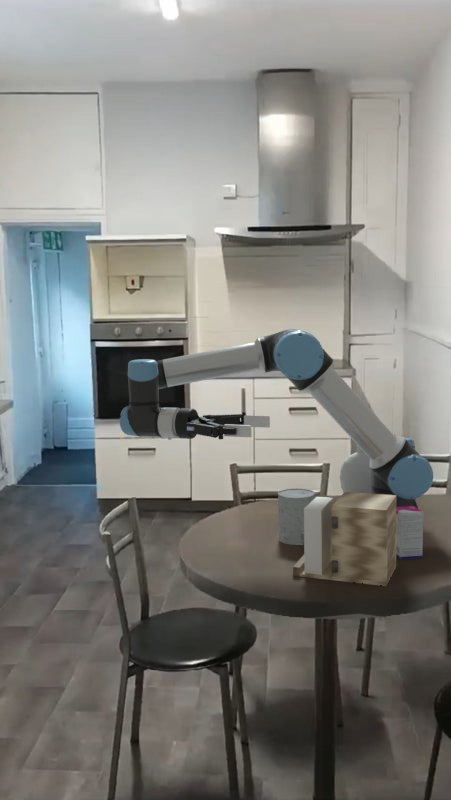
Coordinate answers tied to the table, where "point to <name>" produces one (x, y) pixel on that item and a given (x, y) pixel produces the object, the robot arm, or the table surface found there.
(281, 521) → the grey cylinder
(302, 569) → the cabinet
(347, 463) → the soap bottle
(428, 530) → the table surface
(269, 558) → the table surface
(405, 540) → the supplement box
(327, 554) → the door
